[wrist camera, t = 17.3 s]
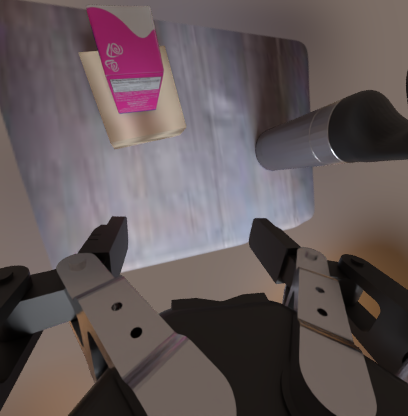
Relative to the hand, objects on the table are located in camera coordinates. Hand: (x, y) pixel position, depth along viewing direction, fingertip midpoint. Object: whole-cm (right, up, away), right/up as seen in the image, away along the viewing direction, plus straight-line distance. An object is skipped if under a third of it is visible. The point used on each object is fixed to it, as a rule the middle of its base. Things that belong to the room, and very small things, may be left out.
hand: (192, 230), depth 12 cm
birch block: (-11, +19, +22) cm, 31 cm away
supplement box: (-10, +19, +16) cm, 27 cm away
